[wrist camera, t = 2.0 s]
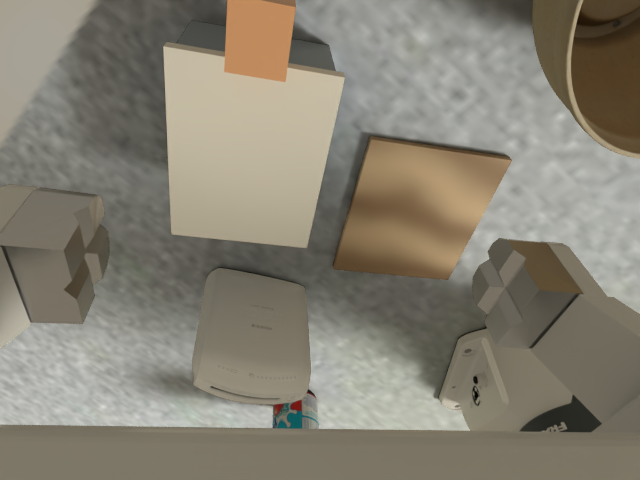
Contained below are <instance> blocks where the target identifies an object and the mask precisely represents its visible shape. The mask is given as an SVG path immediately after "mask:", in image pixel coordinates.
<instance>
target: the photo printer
mask: <svg viewBox="0 0 640 480" xmlns="http://www.w3.org/2000/svg"><path fill="white" fill-rule="evenodd" d="M192 369H193V373H194V379H193V385H194V386H196V387H198V388H199V389H201V390H203V391H206V392H208V393H210V394H213V395H215V396H218V397H221V398H225V399H228V400H233V401H237V402H243V403H250V404H264V405H270V404H283V403H290V402H294V401H298V400H302V399H303V397H304V394H305V393H307V390H308V387H309V381H310V374H311V362H310V345H309V329H308V315H307V300H306V290H305V287H303V286H301V285H299V284H296V283H292V282H288V281H284V280H280V279H275V278H271V277H266V276H261V275H257V274H252V273H247V272H242V271H236V270H231V269H223V268H217V269H216V270H214V271H212V272H211V273H210V274H209V275H208V277H207V279H206V284H205V290H204V295H203V301H202V307H201V312H200V318H199V324H198V329H197V335H196V341H195V347H194V352H193V358H192Z"/></svg>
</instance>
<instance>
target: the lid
mask: <svg viewBox="0 0 640 480" xmlns="http://www.w3.org/2000/svg"><path fill="white" fill-rule="evenodd" d="M295 10H296V3H295V0H227V21H226V43H225V52H222V51H216V50H211V49H205V48H199V47H193V46H188V45H182V44H176V43H170V42H166V43H165V45H164V46H163V51H164V75H165V98H166V122H167V145H168V169H169V192H170V216H171V234H172V235H182V236H192V237H202V238H212V239H221V240H231V241H241V242H251V243H261V244H271V245H281V246H291V247H301V248H307V245H308V241H309V236H310V232H311V227H312V223H313V218H314V214H315V209H316V205H317V201H318V196H319V192H320V187H321V183H322V178H323V174H324V169H325V165H326V160H327V156H328V152H329V147H330V143H331V138H332V134H333V129H334V125H335V120H336V116H337V111H338V107H339V103H340V98H341V94H342V89H343V85H344V80H345V76H344V73H343V72H337V71H332V70H326V69H320V68H314V67H309V66H303V65H297V64H291V63H288V61H289V53H290V46H291V39H292V31H293V24H294V17H295Z"/></svg>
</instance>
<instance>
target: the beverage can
mask: <svg viewBox="0 0 640 480" xmlns="http://www.w3.org/2000/svg"><path fill="white" fill-rule="evenodd" d="M273 428H285V429H319V423H318V408H317V399H316V397H315V395H314V394H313V393H312V392H311V391H309V390H307V393H305V394H304V397H303V399H302V400H298V401H294V402H290V403H283V404H273Z"/></svg>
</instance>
